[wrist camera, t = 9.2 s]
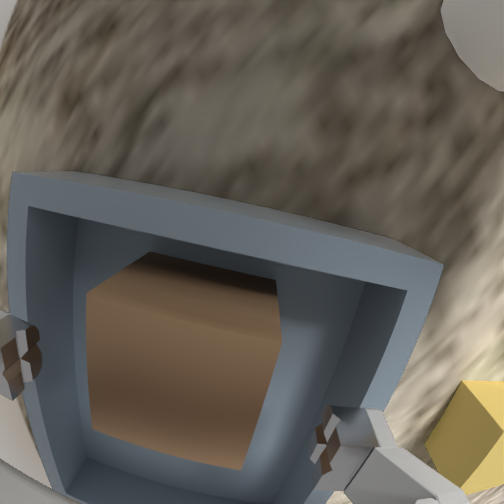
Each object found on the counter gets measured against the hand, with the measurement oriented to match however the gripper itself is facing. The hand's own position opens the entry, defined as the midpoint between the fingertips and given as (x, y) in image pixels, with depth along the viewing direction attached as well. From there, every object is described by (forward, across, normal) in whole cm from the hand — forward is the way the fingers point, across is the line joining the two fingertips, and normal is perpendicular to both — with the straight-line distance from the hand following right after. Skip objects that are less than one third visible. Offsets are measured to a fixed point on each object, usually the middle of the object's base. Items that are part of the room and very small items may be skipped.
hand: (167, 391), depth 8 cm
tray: (+6, 0, +4) cm, 8 cm away
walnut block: (+5, 0, 0) cm, 5 cm away
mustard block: (+6, -17, +4) cm, 19 cm away
